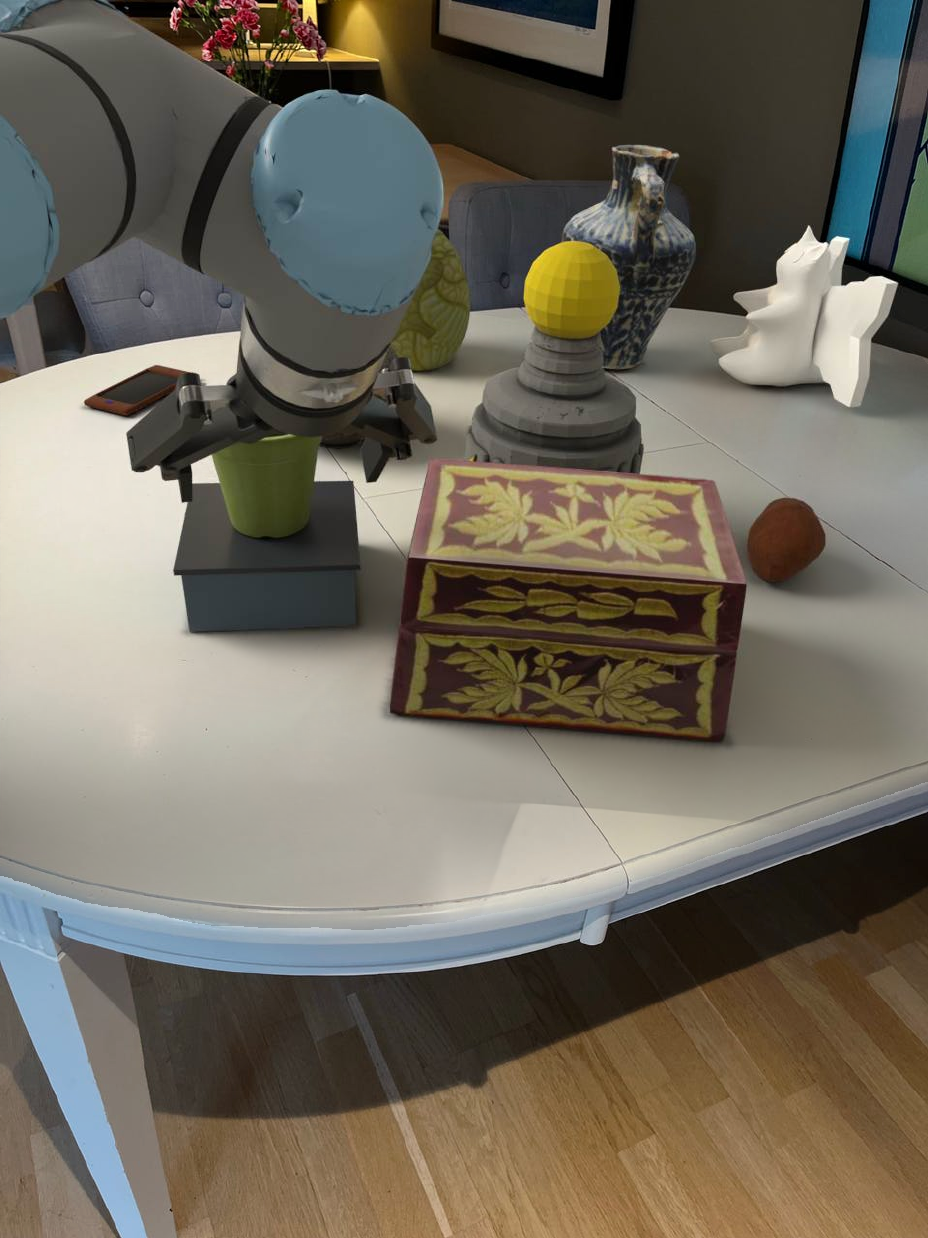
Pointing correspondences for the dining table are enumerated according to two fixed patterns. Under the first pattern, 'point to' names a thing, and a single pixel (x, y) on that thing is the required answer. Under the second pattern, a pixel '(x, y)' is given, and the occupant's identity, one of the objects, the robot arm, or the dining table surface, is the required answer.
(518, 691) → the decorative box
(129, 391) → the smartphone
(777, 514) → the potato
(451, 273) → the decorative sculpture
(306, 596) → the container
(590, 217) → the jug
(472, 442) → the decorative lamp
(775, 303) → the cat figurine
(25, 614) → the dining table surface
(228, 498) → the plant pot
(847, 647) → the dining table surface
